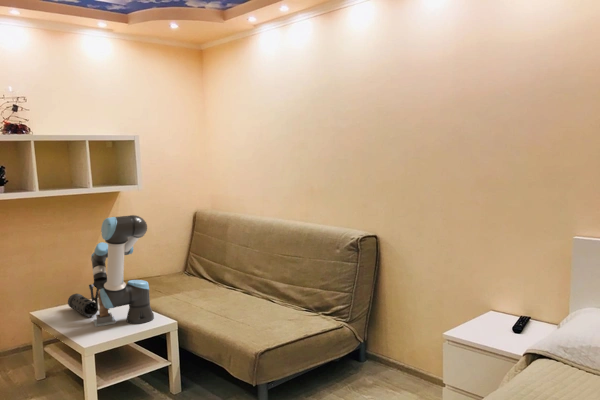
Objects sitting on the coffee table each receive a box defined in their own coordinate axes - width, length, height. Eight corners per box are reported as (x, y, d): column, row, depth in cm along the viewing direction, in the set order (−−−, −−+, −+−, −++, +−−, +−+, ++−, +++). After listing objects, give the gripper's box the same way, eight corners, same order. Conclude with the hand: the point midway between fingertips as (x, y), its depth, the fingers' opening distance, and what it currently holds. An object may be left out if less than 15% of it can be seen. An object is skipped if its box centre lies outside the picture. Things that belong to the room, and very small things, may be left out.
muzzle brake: (83, 320, 291) (82, 303, 290) (67, 310, 311) (65, 294, 311) (99, 316, 298) (98, 299, 297) (82, 307, 318) (81, 291, 317)
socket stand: (113, 318, 293) (113, 311, 293) (115, 323, 283) (115, 316, 283) (93, 321, 288) (93, 314, 288) (95, 326, 278) (94, 319, 278)
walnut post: (107, 313, 289) (106, 290, 287) (108, 315, 285) (106, 292, 283) (99, 315, 287) (97, 291, 285) (100, 317, 283) (98, 293, 281)
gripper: (115, 276, 302) (120, 310, 288) (84, 280, 294) (87, 315, 281) (115, 269, 296) (120, 303, 283) (83, 273, 289) (87, 308, 275)
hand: (103, 309), depth 282 cm, fingers closed on walnut post, 4 cm apart
